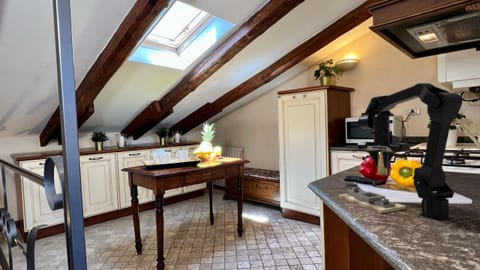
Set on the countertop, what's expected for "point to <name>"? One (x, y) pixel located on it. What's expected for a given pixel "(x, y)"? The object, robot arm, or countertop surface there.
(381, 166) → the brass pin
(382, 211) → the wooden board
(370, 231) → the countertop surface
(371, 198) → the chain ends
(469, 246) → the countertop surface
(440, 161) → the robot arm
